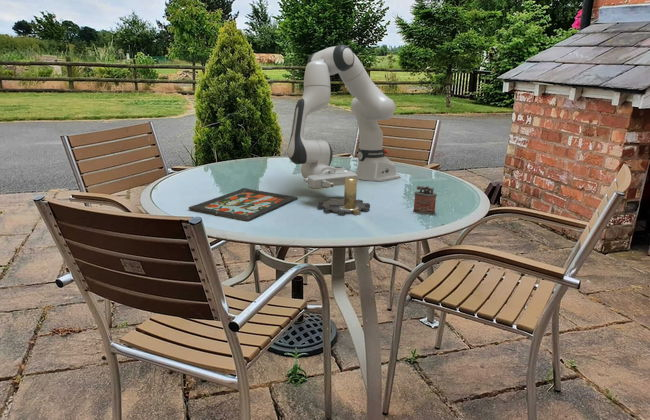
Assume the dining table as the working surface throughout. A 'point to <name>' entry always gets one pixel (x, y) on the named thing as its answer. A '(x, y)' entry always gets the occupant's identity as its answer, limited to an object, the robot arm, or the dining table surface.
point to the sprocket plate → (342, 207)
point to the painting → (244, 204)
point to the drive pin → (350, 193)
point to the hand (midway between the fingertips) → (342, 184)
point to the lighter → (424, 200)
